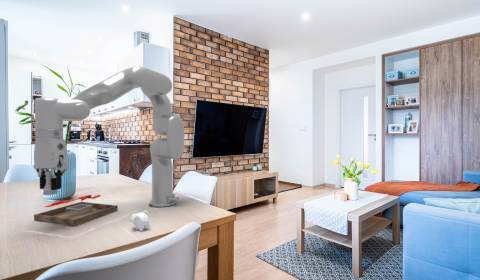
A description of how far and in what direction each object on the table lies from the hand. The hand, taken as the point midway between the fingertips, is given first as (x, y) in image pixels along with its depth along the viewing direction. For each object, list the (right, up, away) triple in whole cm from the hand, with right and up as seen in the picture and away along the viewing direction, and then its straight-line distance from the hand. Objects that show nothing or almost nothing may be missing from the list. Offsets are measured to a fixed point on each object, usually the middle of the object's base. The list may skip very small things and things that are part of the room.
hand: (50, 188), depth 87 cm
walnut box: (-1, -15, +16) cm, 22 cm away
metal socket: (-3, -14, +20) cm, 24 cm away
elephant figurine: (+29, -15, +4) cm, 33 cm away
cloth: (-17, -15, +40) cm, 46 cm away
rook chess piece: (0, -2, 0) cm, 2 cm away
